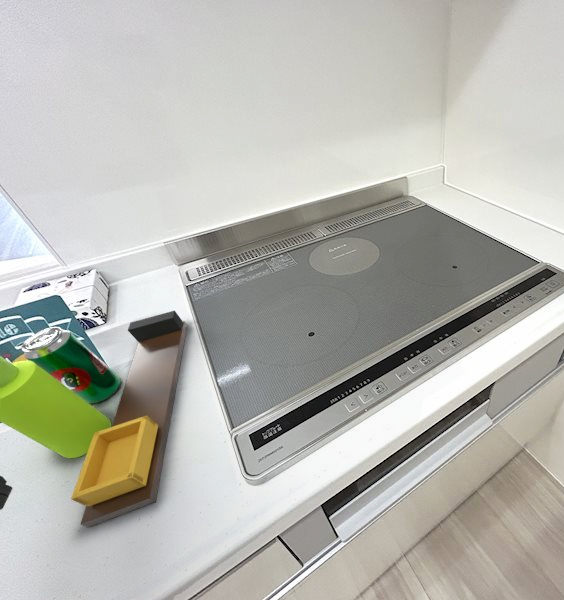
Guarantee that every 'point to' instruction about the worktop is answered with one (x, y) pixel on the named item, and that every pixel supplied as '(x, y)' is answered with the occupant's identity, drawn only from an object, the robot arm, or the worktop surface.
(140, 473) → the tray
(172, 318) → the end stop
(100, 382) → the soda can
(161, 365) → the board
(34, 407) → the soap dispenser
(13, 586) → the worktop surface
